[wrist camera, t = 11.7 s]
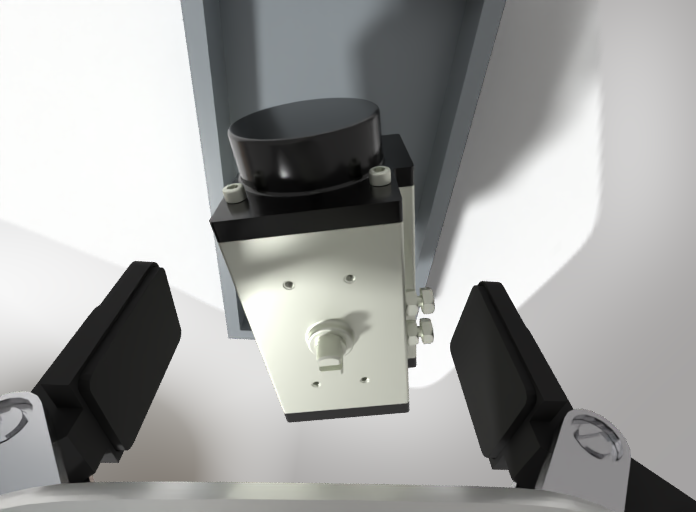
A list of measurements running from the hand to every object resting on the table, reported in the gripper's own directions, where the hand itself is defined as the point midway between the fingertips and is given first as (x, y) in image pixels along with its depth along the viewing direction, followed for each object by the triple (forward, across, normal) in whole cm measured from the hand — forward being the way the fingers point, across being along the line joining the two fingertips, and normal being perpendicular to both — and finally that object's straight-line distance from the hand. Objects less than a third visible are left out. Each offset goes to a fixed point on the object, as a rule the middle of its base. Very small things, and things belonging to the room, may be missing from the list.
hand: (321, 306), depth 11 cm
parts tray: (+11, 0, +1) cm, 11 cm away
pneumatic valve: (+10, -1, +1) cm, 10 cm away
